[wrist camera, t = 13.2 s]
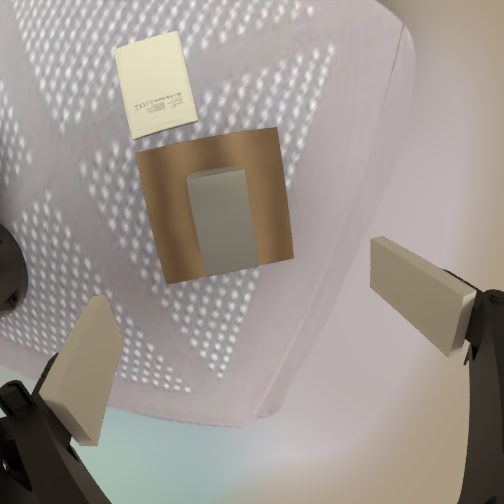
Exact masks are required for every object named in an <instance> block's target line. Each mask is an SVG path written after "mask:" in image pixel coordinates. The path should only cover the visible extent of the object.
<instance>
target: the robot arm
mask: <svg viewBox="0 0 504 504" xmlns="http://www.w3.org/2000/svg"><path fill="white" fill-rule="evenodd" d="M370 243H371V271H370V272H371V273H370V287H371V288H372V289H373V290H374V291H375V292H376V293H377V294H378V295H380V296H381V297H382V298H383V299H384V300H385V301H386V302H388V303H389V304H390V305H391V306H392V307H393V308H394V309H395V310H397V311H398V312H399V313H400V314H401V315H402V316H403V317H404V318H405V319H407V320H408V321H409V322H410V323H411V324H412V325H413V326H414V327H415V328H416V329H418V330H419V331H420V332H421V333H422V334H423V335H424V336H425V337H426V338H427V339H428V340H430V341H431V342H432V343H433V344H434V345H435V346H436V347H437V348H438V349H439V350H440V351H441V352H442V353H443V354H444V355H445V356H446V357H448V358H450V357H452V356H454V355H455V354H457V353H459V352H461V350H462V347H463V344H464V340H465V339H466V340H467V341H469V342H470V345H469V349H468V352H467V355H466V358H465V361H464V365H466V363H467V361H468V360H469V375H470V415H469V433H468V434H469V435H468V446H467V456H466V464H465V471H464V478H463V485H462V490H461V494H460V498H459V501H458V503H457V504H504V292H502V291H500V290H495V289H493V290H487V291H485V292H482V291H481V290H479V289H478V288H476V287H474V286H473V285H471V284H470V283H468V282H466V281H463V279H461V278H460V277H457V276H456V275H454V274H453V273H451V272H450V271H447V270H444V269H441V268H439V267H437V266H435V265H434V264H432V263H430V262H428V261H427V260H425V259H423V258H421V257H420V256H418V255H416V254H414V253H413V252H410V251H409V250H407V249H406V248H404V247H402V246H400V245H398V244H396V243H394V242H393V241H391V240H389V239H387V238H385V237H383V236H381V237H376V238H372V239H370ZM26 290H27V271H26V265H25V262H24V258H23V256H22V253H21V251H20V249H19V247H18V245H17V243H16V241H15V240H14V238H13V237H12V235H11V234H10V233H9V232H8V231H7V230H6V229H5V228H4V227H3V226H2V225H0V318H1V317H4V316H6V315H9V314H10V313H12V312H13V311H14V310H15V309H16V308H17V307H18V306H19V305H20V304H21V302H22V301H23V299H24V297H25V294H26ZM123 344H124V339H123V337H122V335H121V332H120V330H119V328H118V325H117V323H116V320H115V318H114V315H113V313H112V310H111V308H110V305H109V303H108V300H107V297H106V295H105V294H103V295H98V296H93V297H91V299H90V300H89V302H88V304H87V305H86V307H85V308H84V310H83V312H82V313H81V315H80V317H79V318H78V320H77V322H76V324H75V325H74V327H73V329H72V330H71V332H70V334H69V336H68V337H67V339H66V341H65V343H64V345H63V346H62V348H61V350H60V352H59V353H56V354H55V355H54V356H53V357H52V358H51V359H50V360H49V361H48V363H47V365H46V367H45V369H44V370H45V371H43V373H42V374H41V378H39V380H38V382H37V384H36V386H35V388H34V390H33V392H32V394H31V395H30V394H29V392H28V391H27V389H26V388H25V386H24V385H23V383H22V382H21V381H18V380H13V381H10V382H7V383H6V384H5V385H3V386H2V387H1V388H0V408H1V409H2V411H3V412H4V413H5V414H6V417H3V418H0V504H111V502H110V501H109V499H108V498H107V497H106V496H105V494H104V493H103V492H102V490H101V489H100V487H99V486H98V485H97V483H96V482H95V480H94V479H93V478H92V476H91V475H90V473H89V472H88V470H87V469H86V467H85V466H84V464H83V462H82V461H81V459H80V458H79V456H78V455H77V453H76V451H75V450H74V448H73V447H72V446H71V445H70V441H71V437H73V438H74V439H75V440H76V442H77V443H78V444H79V445H80V446H97V445H98V441H99V436H100V431H101V427H102V422H103V418H104V414H105V410H106V406H107V402H108V398H109V394H110V390H111V386H112V383H113V379H114V375H115V372H116V368H117V365H118V361H119V358H120V354H121V351H122V348H123ZM3 463H4V464H5V465H6V470H5V468H4V466H3Z"/></svg>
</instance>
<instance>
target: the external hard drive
mask: <svg viewBox="0 0 504 504" xmlns="http://www.w3.org/2000/svg"><path fill="white" fill-rule="evenodd" d="M114 53H115V60H116V65H117V71H118V76H119V82H120V87H121V92H122V97H123V102H124V106H125V111H126V115H127V120H128V124H129V129H130V133H131V137H132V140H135V139H138V138H141V137H144V136H147V135H150V134H153V133H157V132H159V131H163V130H166V129H169V128H174V127H177V126H181V125H185V124H189V123H192V122H196V121H198V117H197V113H196V109H195V104H194V100H193V96H192V91H191V87H190V82H189V78H188V73H187V69H186V64H185V60H184V55H183V51H182V46H181V42H180V37H179V33H178V31H173V32H169V33H165V34H162V35H158V36H154V37H151V38H148V39H144V40H141V41H138V42H135V43H132V44H129V45H126V46H123V47H120V48H117V49H115V50H114Z"/></svg>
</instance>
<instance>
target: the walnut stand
mask: <svg viewBox="0 0 504 504" xmlns="http://www.w3.org/2000/svg"><path fill="white" fill-rule="evenodd" d="M136 157H137V163H138V168H139V173H140V178H141V183H142V188H143V192H144V197H145V201H146V206H147V210H148V214H149V219H150V223H151V227H152V231H153V235H154V239H155V243H156V247H157V251H158V254H159V258H160V262H161V265H162V269H163V273H164V276H165V280H166V283H167V284H172V283H177V282H182V281H187V280H192V279H197V278H202V277H206V273H205V269H204V264H203V260H202V255H201V251H200V246H199V242H198V237H197V232H196V227H195V222H194V218H193V213H192V208H191V203H190V198H189V192H188V187H187V182H186V179H187V177H188V175H189V173H194V172H199V171H204V170H209V169H215V168H220V167H226V166H232V165H235V166H238V167H240V168H243V169H244V170H245V177H246V183H247V190H248V196H249V203H250V209H251V215H252V222H253V228H254V235H255V242H256V248H257V255H258V261H259V266H260V265H264V264H269V263H274V262H278V261H283V260H288V259H293V258H294V253H293V244H292V235H291V227H290V218H289V210H288V202H287V194H286V187H285V179H284V172H283V165H282V158H281V151H280V144H279V137H278V131H277V127H274V128H266V129H258V130H251V131H244V132H237V133H231V134H225V135H219V136H213V137H208V138H202V139H197V140H192V141H187V142H182V143H177V144H173V145H168V146H164V147H160V148H155V149H151V150H147V151H143V152H139V153H136Z"/></svg>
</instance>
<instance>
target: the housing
mask: <svg viewBox="0 0 504 504" xmlns="http://www.w3.org/2000/svg"><path fill="white" fill-rule="evenodd" d="M186 182H187V187H188V192H189V198H190V203H191V208H192V213H193V218H194V222H195V227H196V232H197V237H198V242H199V246H200V251H201V255H202V260H203V264H204V269H205V273H206V277H208V276H213V275H218V274H223V273H228V272H233V271H238V270H243V269H248V268H253V267H257V266H259V261H258V255H257V248H256V242H255V235H254V228H253V222H252V215H251V209H250V203H249V196H248V190H247V183H246V177H245V170H244V169H243V168H240V167H238V166H235V165H232V166H226V167H220V168H215V169H209V170H204V171H199V172H194V173H189V175H188V177H187V179H186Z"/></svg>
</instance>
